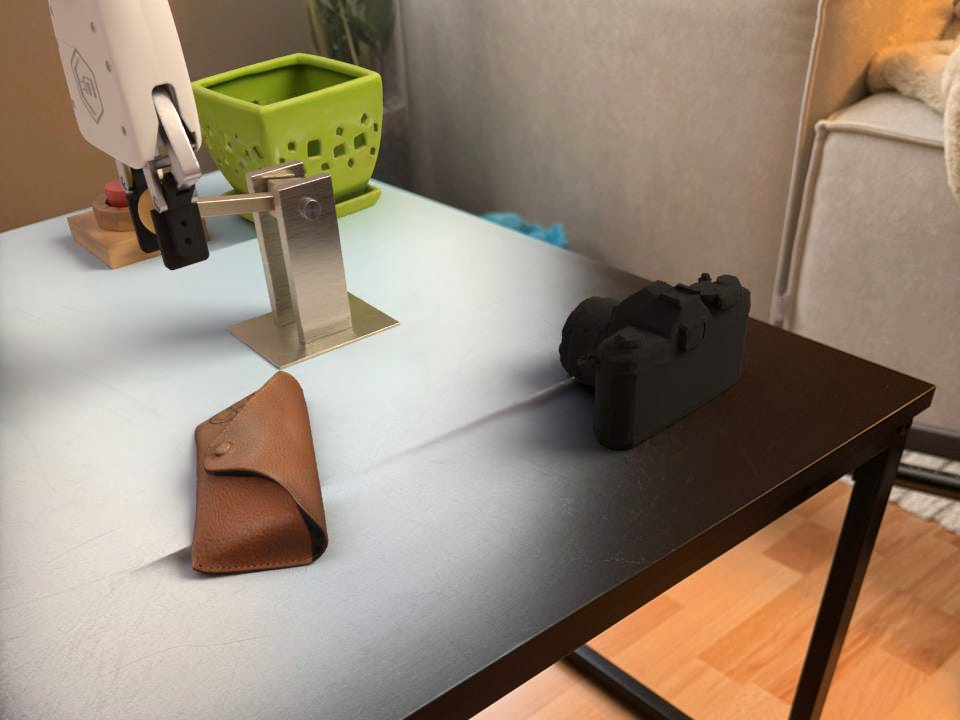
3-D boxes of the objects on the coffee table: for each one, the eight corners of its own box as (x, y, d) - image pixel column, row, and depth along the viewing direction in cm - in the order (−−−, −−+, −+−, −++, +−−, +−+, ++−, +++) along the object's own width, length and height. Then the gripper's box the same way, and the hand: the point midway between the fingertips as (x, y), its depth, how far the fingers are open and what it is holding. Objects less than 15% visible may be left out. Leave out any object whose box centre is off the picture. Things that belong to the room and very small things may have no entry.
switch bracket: (283, 381, 77) (249, 210, 68) (228, 341, 82) (191, 177, 74) (402, 336, 82) (384, 170, 73) (343, 300, 87) (320, 142, 78)
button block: (112, 270, 94) (100, 227, 91) (73, 239, 100) (60, 198, 97) (210, 241, 98) (200, 198, 95) (166, 213, 104) (156, 172, 101)
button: (119, 213, 94) (113, 194, 93) (102, 202, 97) (97, 183, 96) (158, 202, 96) (154, 183, 95) (141, 192, 99) (136, 173, 97)
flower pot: (321, 181, 109) (302, 48, 100) (401, 214, 101) (387, 73, 92) (208, 218, 102) (177, 79, 94) (283, 256, 95) (257, 108, 86)
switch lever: (152, 243, 68) (147, 193, 66) (133, 230, 70) (127, 181, 68) (319, 226, 75) (319, 180, 73) (298, 214, 77) (297, 169, 75)
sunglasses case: (186, 422, 72) (216, 340, 68) (280, 452, 75) (313, 376, 72) (189, 578, 59) (226, 487, 56) (302, 606, 62) (344, 521, 59)
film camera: (654, 338, 79) (663, 222, 73) (757, 379, 74) (776, 258, 68) (517, 412, 72) (514, 290, 66) (620, 463, 67) (628, 336, 61)
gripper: (-14, -61, 62) (81, 238, 75) (87, -29, 52) (177, 309, 65) (101, -79, 65) (174, 211, 78) (217, -52, 55) (279, 275, 68)
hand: (174, 253), depth 71 cm, fingers closed on switch lever, 3 cm apart
